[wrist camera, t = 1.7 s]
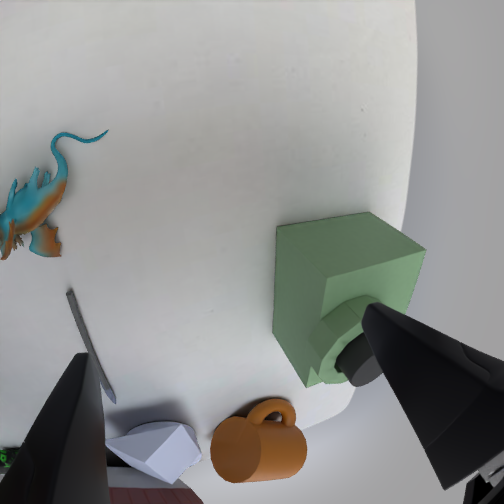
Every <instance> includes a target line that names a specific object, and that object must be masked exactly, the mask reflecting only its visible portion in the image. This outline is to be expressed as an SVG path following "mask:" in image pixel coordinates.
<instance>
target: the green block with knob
mask: <svg viewBox="0 0 504 504" xmlns="http://www.w3.org/2000/svg"><path fill="white" fill-rule="evenodd" d="M425 253H426V249H425V248H423V247H422V246H420V245H419V244H418V243H416V242H415V241H413V240H412V239H410V238H409V237H407V236H406V235H404V234H403V233H401V232H400V231H398V230H397V229H395V228H394V227H392V226H391V225H389V224H388V223H386V222H385V221H383V220H381V219H380V218H378V217H377V216H375V215H374V214H372V213H370V212H366V213H359V214H353V215H347V216H340V217H334V218H328V219H322V220H316V221H310V222H304V223H298V224H292V225H286V226H280V227H277V237H276V265H275V290H274V313H273V334H274V336H275V338H276V339H277V341H278V343H279V344H280V346H281V348H282V349H283V351H284V353H285V354H286V356H287V358H288V359H289V361H290V363H291V364H292V366H293V367H294V369H295V371H296V372H297V374H298V376H299V377H300V379H301V381H302V382H303V384H304V385H305V387H306V388H308V387H310V386H313V385H316V384H318V383H321V382H324V383H325V384H338V383H343V382H345V381H348V379H347V377H346V376H345V375H344V373H343V372H342V371H341V369H340V368H339V367H338V365H337V364H336V358H337V356H338V355H339V354H340V353H341V351H342V350H343V349H344V347H345V346H346V345H347V344H348V343H349V342H350V341H352V340H353V339H354V338H356V337H357V336H358V335H359V334H361V333H362V332H364V331H363V329H362V326H361V321H362V318H363V315H364V312H365V309H366V307H367V305H368V304H370V303H374V302H380V303H382V304H384V305H386V306H388V307H390V308H392V309H394V310H396V311H398V312H400V313H402V314H405V313H406V310H407V308H408V305H409V302H410V299H411V296H412V294H413V291H414V287H415V285H416V282H417V279H418V276H419V272H420V269H421V266H422V262H423V259H424V256H425Z"/></svg>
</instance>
